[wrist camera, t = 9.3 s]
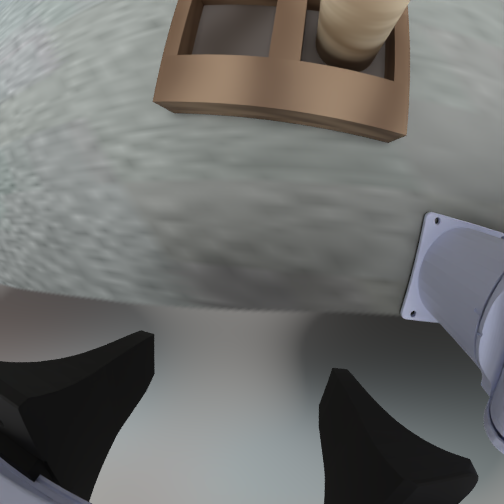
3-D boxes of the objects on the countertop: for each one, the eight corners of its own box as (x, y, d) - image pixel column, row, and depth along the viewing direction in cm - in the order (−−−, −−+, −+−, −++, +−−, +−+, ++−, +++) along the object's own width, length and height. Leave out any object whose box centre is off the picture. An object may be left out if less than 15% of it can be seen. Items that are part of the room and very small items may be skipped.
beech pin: (375, 33, 15) (409, -32, 7) (371, 79, 16) (412, 22, 8) (319, 19, 15) (327, -54, 7) (311, 65, 16) (319, -4, 8)
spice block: (392, 7, 15) (405, -15, 12) (388, 142, 18) (406, 135, 14) (204, -15, 16) (191, -38, 13) (173, 112, 19) (152, 101, 16)
